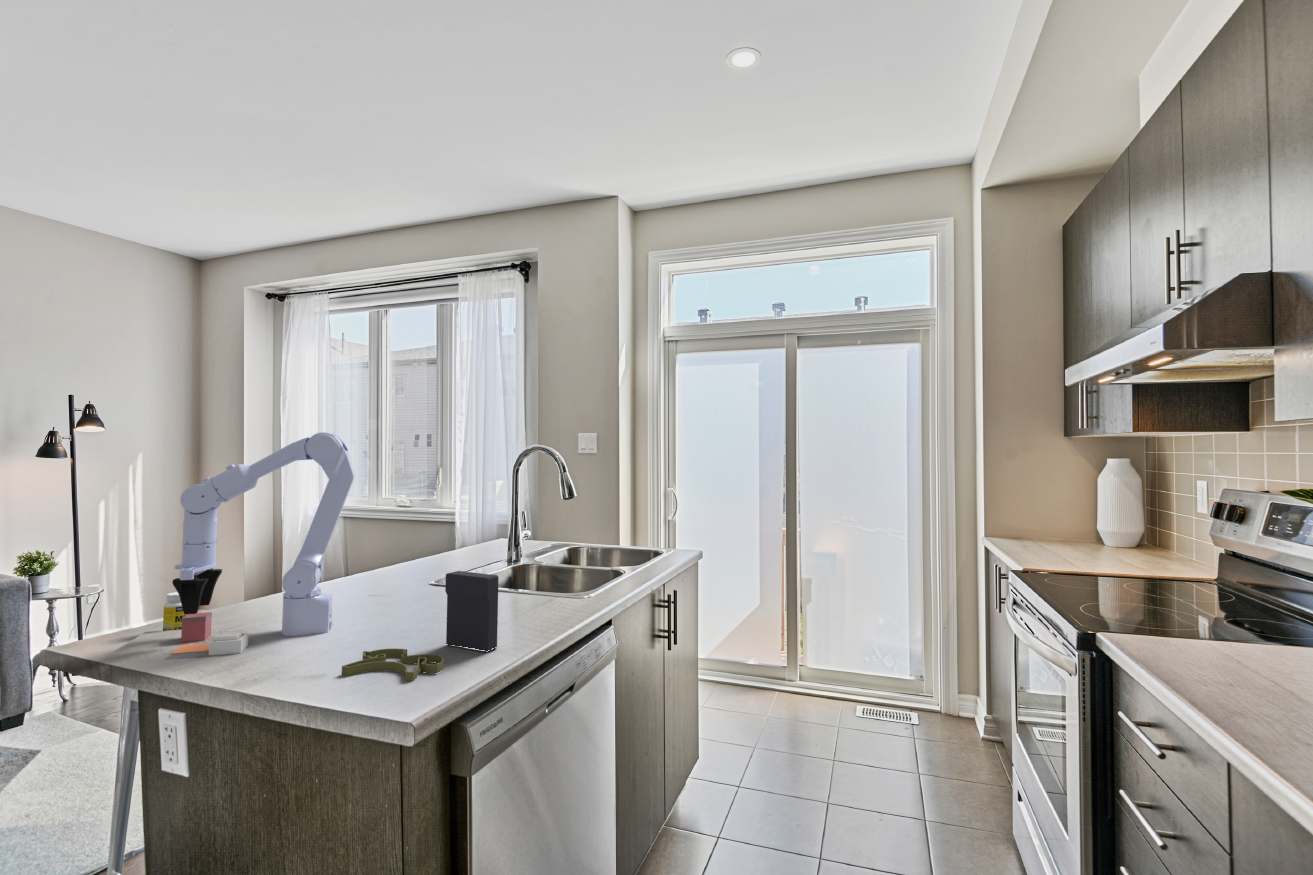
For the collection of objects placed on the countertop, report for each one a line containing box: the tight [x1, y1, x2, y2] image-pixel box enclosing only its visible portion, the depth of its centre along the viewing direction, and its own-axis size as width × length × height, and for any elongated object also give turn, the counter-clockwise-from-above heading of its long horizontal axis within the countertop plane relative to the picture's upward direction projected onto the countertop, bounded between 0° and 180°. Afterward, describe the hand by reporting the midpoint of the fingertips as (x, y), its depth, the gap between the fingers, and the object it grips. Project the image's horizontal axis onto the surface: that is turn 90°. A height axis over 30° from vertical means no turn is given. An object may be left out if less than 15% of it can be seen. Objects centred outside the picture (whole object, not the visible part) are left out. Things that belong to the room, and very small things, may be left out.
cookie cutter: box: [341, 648, 445, 682], centre depth 117 cm, size 18×12×2 cm, turn 79°
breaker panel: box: [164, 632, 253, 661], centre depth 122 cm, size 12×9×4 cm
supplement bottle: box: [162, 591, 188, 632], centre depth 139 cm, size 5×5×8 cm
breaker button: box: [214, 630, 244, 641], centre depth 122 cm, size 4×4×3 cm
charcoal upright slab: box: [444, 570, 499, 651], centre depth 130 cm, size 11×4×15 cm, turn 65°
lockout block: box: [180, 611, 213, 643], centre depth 130 cm, size 4×4×6 cm
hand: (197, 609), depth 130 cm, fingers open, 7 cm apart
